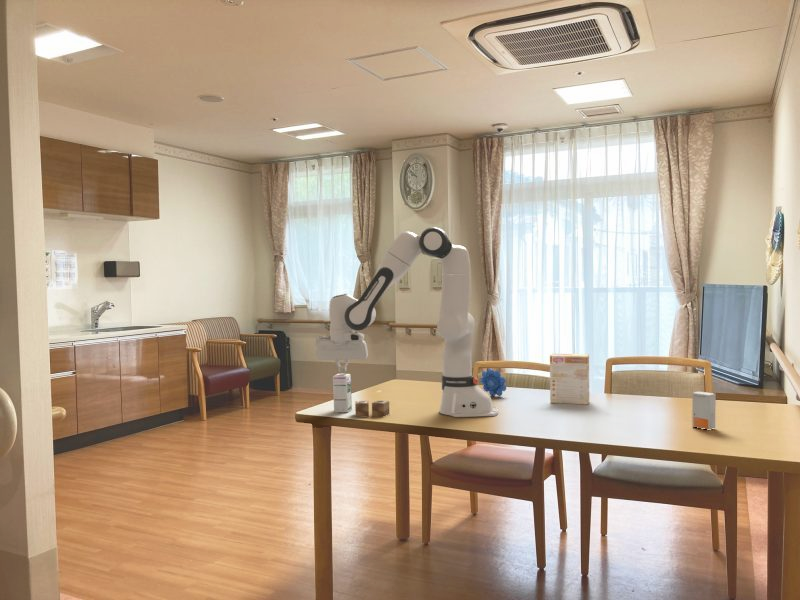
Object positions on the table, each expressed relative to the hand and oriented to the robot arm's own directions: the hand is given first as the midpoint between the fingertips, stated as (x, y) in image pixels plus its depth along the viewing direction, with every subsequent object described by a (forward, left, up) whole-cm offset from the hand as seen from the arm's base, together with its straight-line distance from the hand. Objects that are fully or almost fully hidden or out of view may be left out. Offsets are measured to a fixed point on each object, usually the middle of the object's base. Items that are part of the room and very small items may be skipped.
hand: (342, 370), depth 254 cm
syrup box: (0, 0, -16) cm, 16 cm away
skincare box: (-128, +22, -16) cm, 131 cm away
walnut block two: (-16, +6, -16) cm, 23 cm away
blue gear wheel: (-59, -32, -16) cm, 69 cm away
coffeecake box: (-90, -21, -16) cm, 94 cm away
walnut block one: (-9, +7, -16) cm, 20 cm away
